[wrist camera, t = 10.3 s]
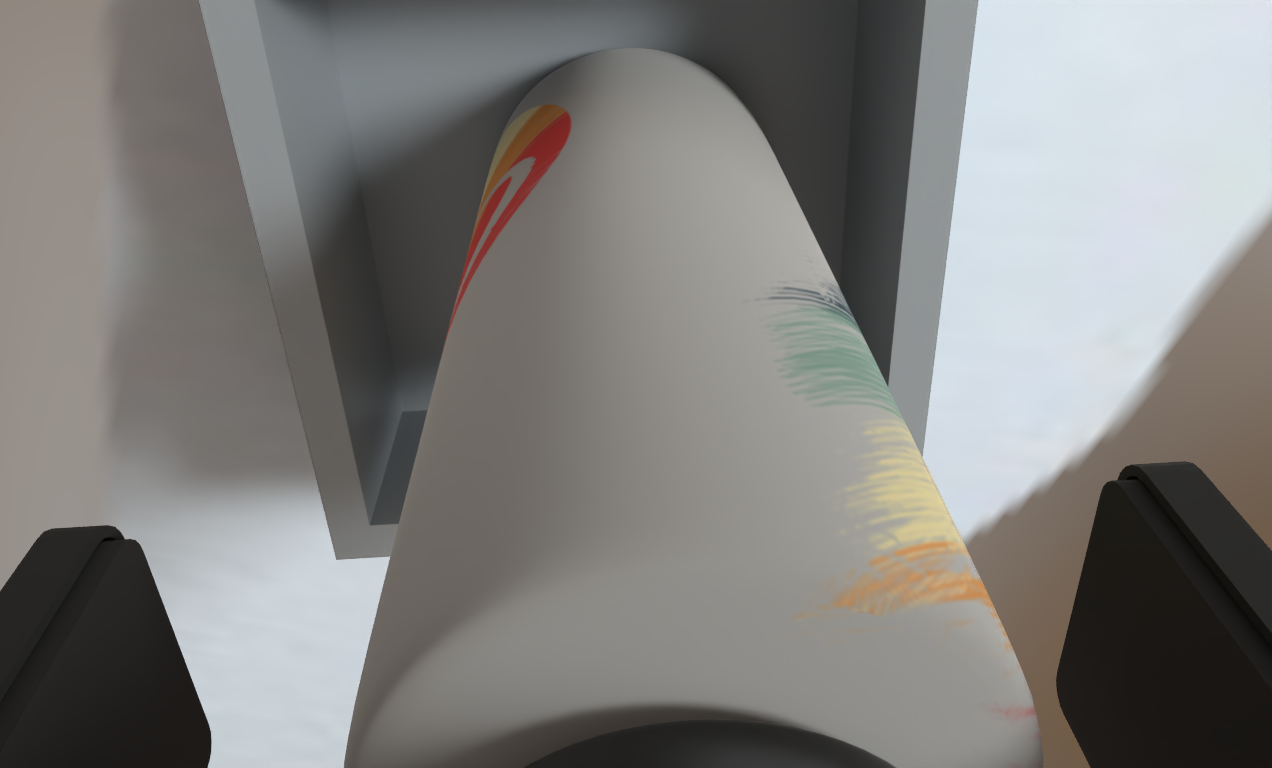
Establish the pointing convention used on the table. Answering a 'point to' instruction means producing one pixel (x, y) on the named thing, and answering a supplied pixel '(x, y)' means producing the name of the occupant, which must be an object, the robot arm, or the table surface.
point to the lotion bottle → (670, 479)
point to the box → (463, 152)
